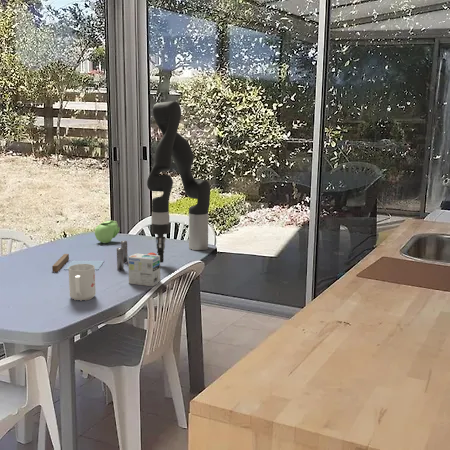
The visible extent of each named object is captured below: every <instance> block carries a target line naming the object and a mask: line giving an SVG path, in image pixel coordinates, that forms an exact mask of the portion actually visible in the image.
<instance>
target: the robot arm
mask: <svg viewBox="0 0 450 450" xmlns="http://www.w3.org/2000/svg"><path fill="white" fill-rule="evenodd" d="M152 114H153V118H154V122H155V123H156V125H157V127H158V129H159V130H160V132H161V134H162V138H161V139H160V141H159V142H158V143H157V145H156V148H155V151H154V159H153V160H154V161H153V164H152V168H151V170H150V173H149V175H148V177H147V181H146V186H147V188H148V190H149V191H150V192H161V193H162V195H161V196H155V197H152V200H151V234H154V235H157V236H155V243H156V250H157V251H156V252H157V253H156V254H157V255H160V264H161V263H164V261H165V260H164V253H165V247H166V236H164V235H168V234H169V233H170V232H171V231H170V229H171V228H170V207H169V206H170V205H169V204H170V196H171V192H172V189H173V184H174V180H173V178H172V176H171V175H169V174H161V173H162V172H166V171H169V170H170V169H171V166H172V159H173V161H174V163H175V166H176V168H177V170H178V174H179V176H180V179H181V182H182V183H181V184H182V186H183V189H184V192H185V195H186V196H187V198H190V199H194V200H197V203H196V204H194V205H192V206H189V208H188V249H189V250H191V249H192V250H191V251H205V250H207V251H208V250H209V209H210V205H211V203H210V201H211V185H210V182H209V181H208V180H206V179H196V178H195V177H194V176H193V175H194V174H193V172H192V167H193V164H194V158H195V156H194V153H193V152H194V151H193V150H192V147H191V145H190V143H189V141H188V140H187V139H186V138H184V137H183V135H181V134H180V133H179V132H178V130H179V126H180V123H181V122H180V121H181V119H182V108H181V105H180V104H179V102H177V101H175V100H171V101H164V102H163V101H162V102H156V103H155V104H154V105H153V107H152Z"/></svg>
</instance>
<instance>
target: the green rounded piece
mask: <svg viewBox="0 0 450 450" xmlns="http://www.w3.org/2000/svg"><path fill="white" fill-rule="evenodd" d="M119 232H120V227H119V225H118V222H117V221H116V220H113V219H112V220H107V221H104V222H102V223H100V224H98V225H97V226H96V228H95V229H94V236H95V238H96V240H97V241H98V242H100V243H103V244H108V243H111V242H112V240H113V239H114V238H116V237H117V236H118V234H119Z"/></svg>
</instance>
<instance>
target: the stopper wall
mask: <svg viewBox="0 0 450 450" xmlns="http://www.w3.org/2000/svg"><path fill="white" fill-rule="evenodd" d="M69 260H70V255H69V253H64V254H62V256H60V257H59V259H57V260H56V262H55V263H54V264H53V265H52V266H51V268H52V273H58V272H59V271H60V270H61V269H62V268H63V267H64V266H65V264H66V263H68V261H69Z"/></svg>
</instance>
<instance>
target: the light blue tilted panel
mask: <svg viewBox="0 0 450 450" xmlns="http://www.w3.org/2000/svg"><path fill="white" fill-rule="evenodd" d="M104 263H105V260H71V261H70V262H69V264H68V265H66V267H65V268H64V269H63V270H64V271H69V267H70V266H72V265H77V264H91V265H94V266H95V271H99V270H100V269H101V267H102V265H103V264H104Z"/></svg>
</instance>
